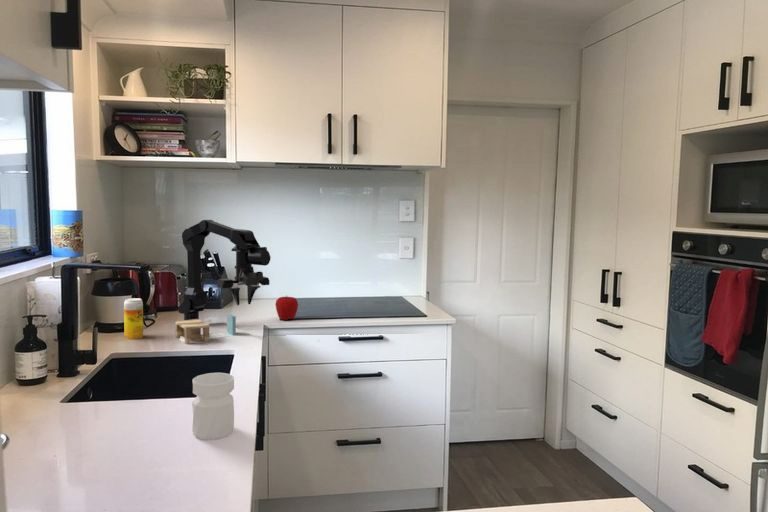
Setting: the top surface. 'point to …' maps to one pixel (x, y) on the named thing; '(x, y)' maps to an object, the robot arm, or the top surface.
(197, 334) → the block
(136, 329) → the beer can
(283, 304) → the apple
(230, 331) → the sled
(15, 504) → the top surface
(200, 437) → the pill bottle
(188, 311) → the robot arm
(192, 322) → the tunnel
